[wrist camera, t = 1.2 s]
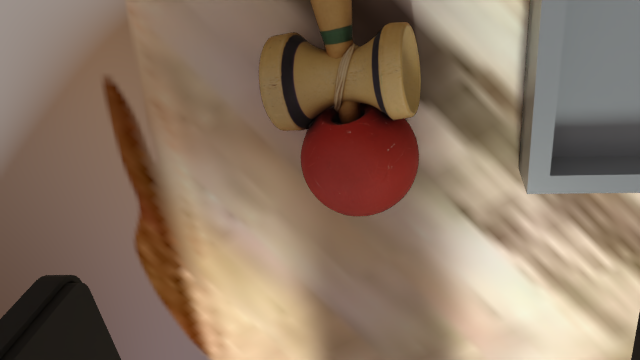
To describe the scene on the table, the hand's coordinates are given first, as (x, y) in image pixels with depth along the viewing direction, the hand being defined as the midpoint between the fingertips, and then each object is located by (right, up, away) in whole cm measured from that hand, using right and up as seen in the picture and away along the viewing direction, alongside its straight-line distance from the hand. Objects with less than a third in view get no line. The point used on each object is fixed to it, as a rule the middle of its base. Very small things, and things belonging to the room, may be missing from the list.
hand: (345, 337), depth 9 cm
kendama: (+1, +11, +19) cm, 22 cm away
